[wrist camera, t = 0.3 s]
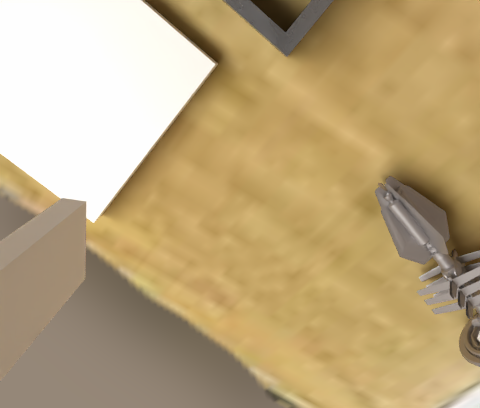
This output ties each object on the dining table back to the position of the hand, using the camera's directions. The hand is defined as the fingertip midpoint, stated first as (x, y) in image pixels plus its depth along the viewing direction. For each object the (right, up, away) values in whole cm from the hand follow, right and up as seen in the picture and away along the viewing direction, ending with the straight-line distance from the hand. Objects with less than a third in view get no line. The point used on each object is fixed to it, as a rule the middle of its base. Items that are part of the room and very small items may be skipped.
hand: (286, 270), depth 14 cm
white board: (-20, +16, +24) cm, 35 cm away
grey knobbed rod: (+22, -8, +29) cm, 37 cm away
